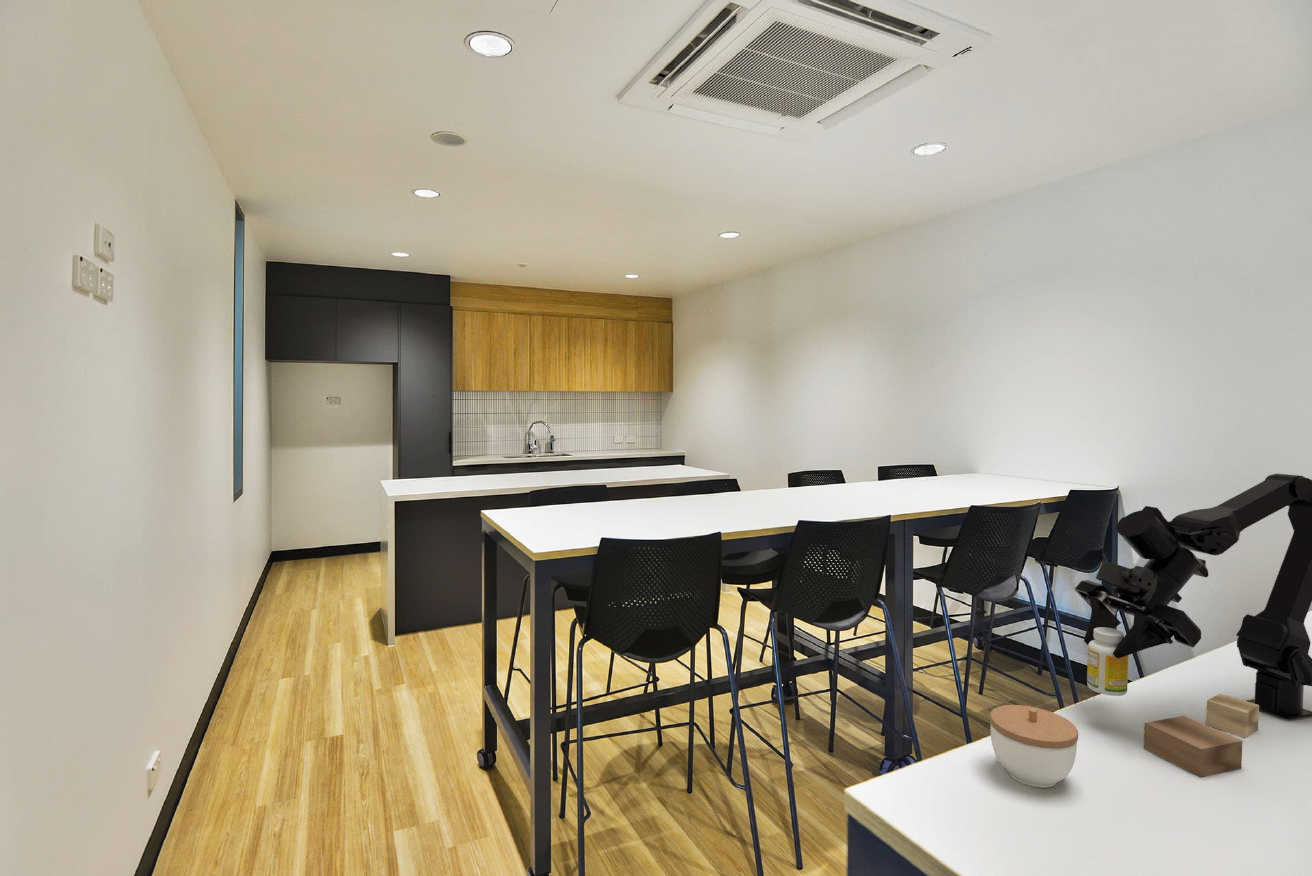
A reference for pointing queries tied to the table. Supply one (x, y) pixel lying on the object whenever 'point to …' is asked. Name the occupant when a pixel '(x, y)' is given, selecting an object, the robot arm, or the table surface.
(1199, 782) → the table surface
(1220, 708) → the oak block
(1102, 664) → the supplement bottle
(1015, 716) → the lidded jar
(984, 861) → the table surface
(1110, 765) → the table surface
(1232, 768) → the walnut block
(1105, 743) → the table surface
